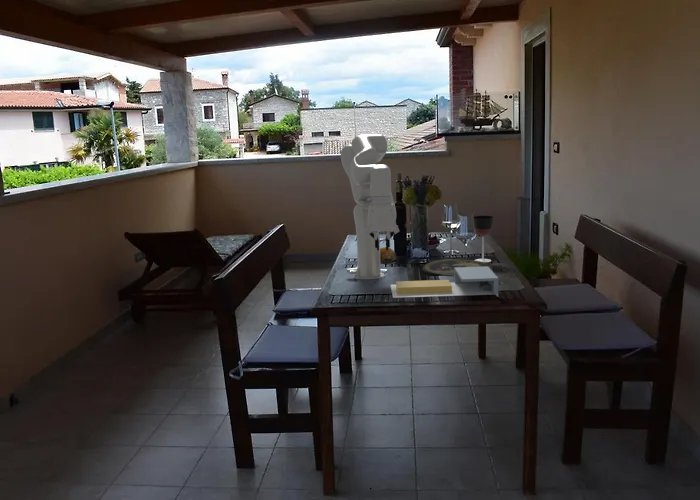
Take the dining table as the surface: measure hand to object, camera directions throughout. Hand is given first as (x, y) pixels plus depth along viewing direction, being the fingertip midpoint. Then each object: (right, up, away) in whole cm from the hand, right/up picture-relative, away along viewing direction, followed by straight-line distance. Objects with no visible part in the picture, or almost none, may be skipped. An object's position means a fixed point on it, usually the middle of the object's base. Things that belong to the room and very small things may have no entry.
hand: (382, 249), depth 226 cm
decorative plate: (+34, -9, +35) cm, 50 cm away
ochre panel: (+16, -15, +3) cm, 22 cm away
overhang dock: (+23, -16, +3) cm, 28 cm away
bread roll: (+4, -5, +59) cm, 59 cm away
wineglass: (+48, -5, +50) cm, 70 cm away
